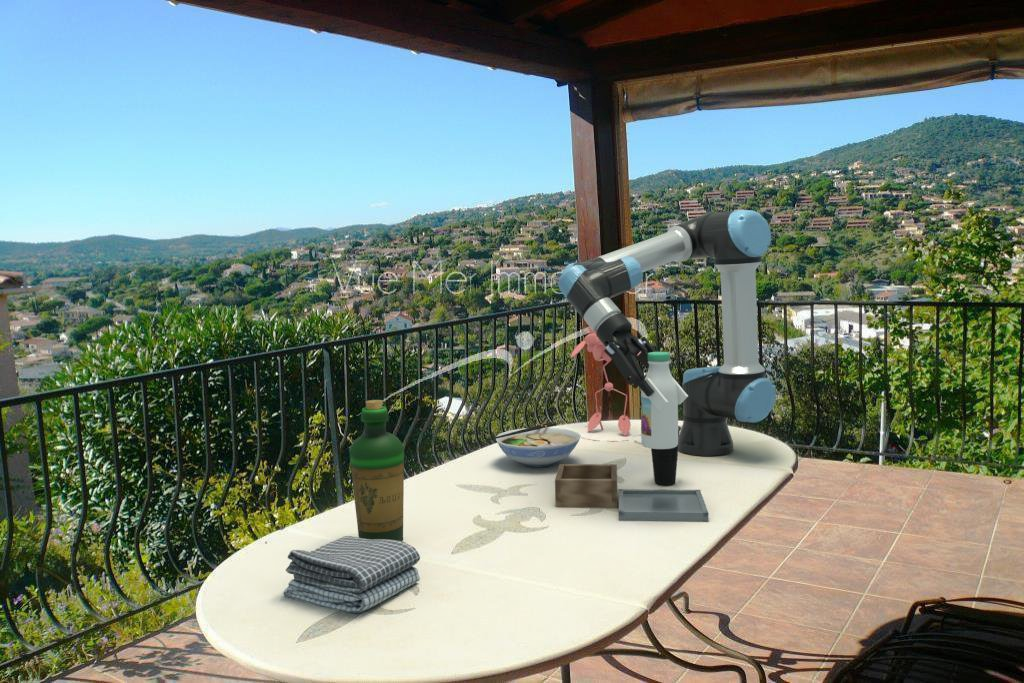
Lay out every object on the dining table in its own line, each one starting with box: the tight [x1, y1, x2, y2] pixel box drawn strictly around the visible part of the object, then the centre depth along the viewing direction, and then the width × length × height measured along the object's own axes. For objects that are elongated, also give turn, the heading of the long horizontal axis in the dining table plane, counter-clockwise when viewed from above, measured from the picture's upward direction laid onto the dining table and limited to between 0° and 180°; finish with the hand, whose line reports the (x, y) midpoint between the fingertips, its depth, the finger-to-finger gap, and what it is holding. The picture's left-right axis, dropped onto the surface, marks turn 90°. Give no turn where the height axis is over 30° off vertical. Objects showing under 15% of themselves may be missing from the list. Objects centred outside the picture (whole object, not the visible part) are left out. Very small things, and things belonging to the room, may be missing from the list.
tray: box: [618, 488, 709, 522], centre depth 168 cm, size 18×16×2 cm
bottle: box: [348, 399, 405, 542], centre depth 151 cm, size 11×11×28 cm
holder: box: [554, 463, 618, 509], centre depth 176 cm, size 13×13×6 cm
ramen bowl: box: [485, 421, 581, 468], centre depth 208 cm, size 25×23×8 cm
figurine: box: [570, 326, 641, 443], centre depth 236 cm, size 15×26×35 cm, turn 53°
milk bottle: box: [640, 351, 679, 450], centre depth 165 cm, size 8×8×20 cm
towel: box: [282, 535, 421, 614], centre depth 131 cm, size 15×18×8 cm
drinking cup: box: [650, 425, 682, 487], centre depth 185 cm, size 8×8×20 cm
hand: (673, 403), depth 163 cm, fingers closed on milk bottle, 7 cm apart
